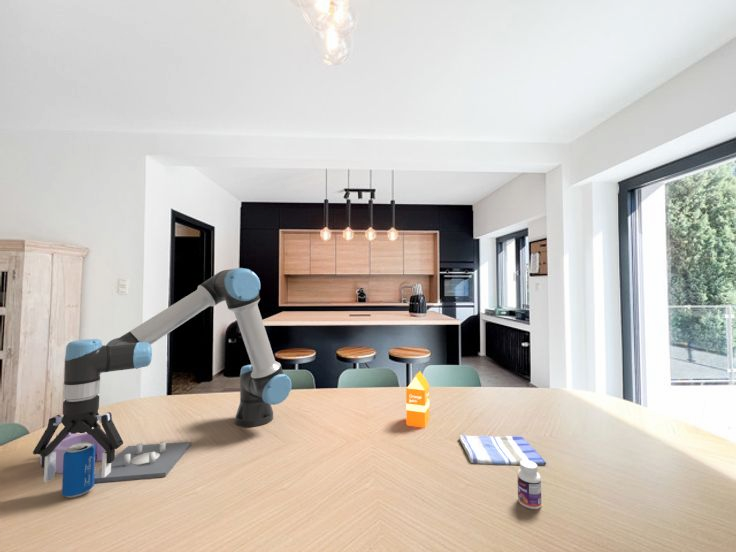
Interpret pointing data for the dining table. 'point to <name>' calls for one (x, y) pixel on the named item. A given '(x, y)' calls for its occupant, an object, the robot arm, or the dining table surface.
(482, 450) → the dish towel
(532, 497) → the pill bottle
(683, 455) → the dining table surface
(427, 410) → the orange juice
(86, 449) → the beverage can
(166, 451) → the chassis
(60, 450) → the clip
